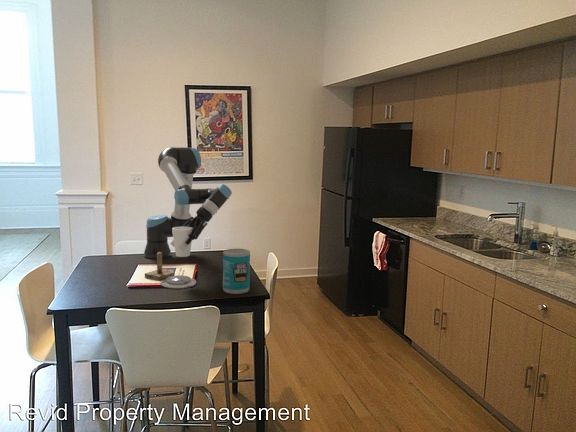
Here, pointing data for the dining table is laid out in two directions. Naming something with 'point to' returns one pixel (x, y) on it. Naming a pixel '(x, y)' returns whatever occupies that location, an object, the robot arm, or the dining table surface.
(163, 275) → the stand
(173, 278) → the grey plate
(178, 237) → the foam cup
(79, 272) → the dining table surface
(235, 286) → the food can
